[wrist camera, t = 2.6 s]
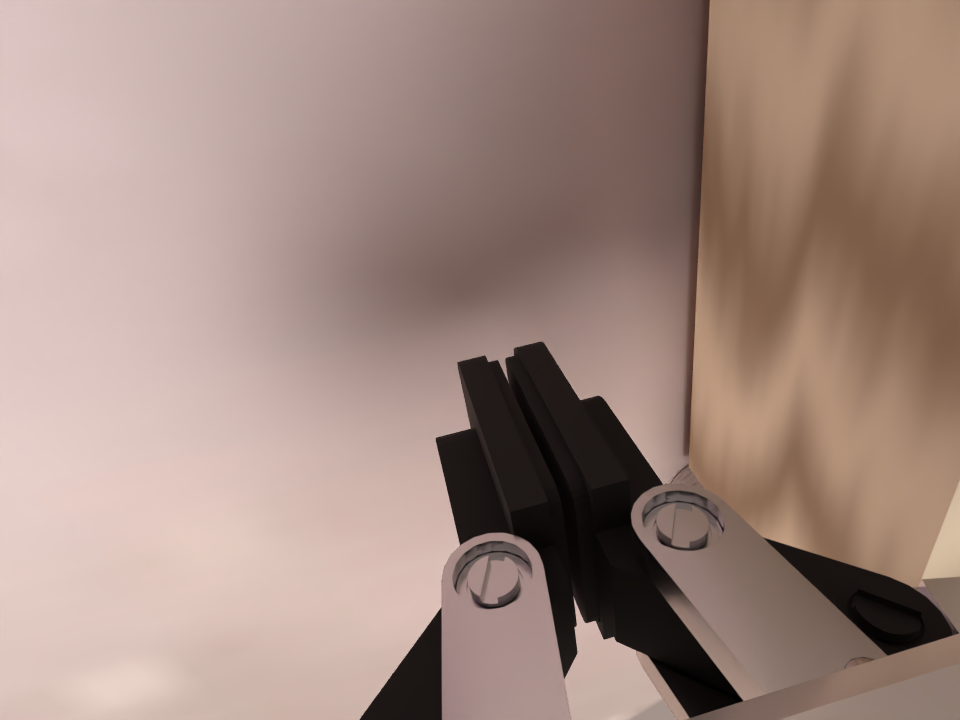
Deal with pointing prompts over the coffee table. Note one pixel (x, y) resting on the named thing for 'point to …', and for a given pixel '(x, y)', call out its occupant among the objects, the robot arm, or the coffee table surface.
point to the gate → (833, 279)
